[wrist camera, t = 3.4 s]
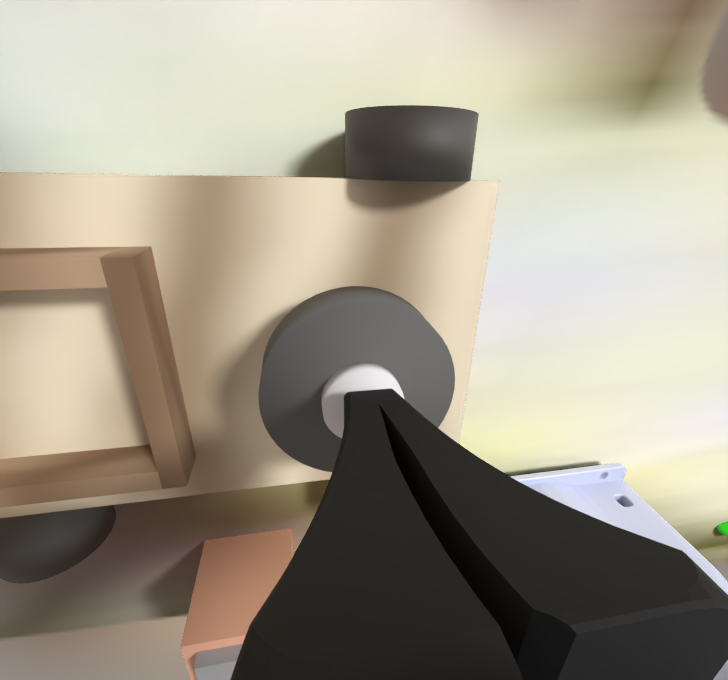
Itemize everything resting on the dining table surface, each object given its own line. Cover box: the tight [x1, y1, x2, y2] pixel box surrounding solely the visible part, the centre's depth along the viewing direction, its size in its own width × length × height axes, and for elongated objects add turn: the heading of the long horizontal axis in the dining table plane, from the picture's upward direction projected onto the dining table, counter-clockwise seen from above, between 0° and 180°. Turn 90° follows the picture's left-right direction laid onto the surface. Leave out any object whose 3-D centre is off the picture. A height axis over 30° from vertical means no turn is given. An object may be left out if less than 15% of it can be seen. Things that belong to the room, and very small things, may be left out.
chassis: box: [0, 106, 500, 583], centre depth 14 cm, size 20×16×4 cm
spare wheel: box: [258, 286, 455, 472], centre depth 12 cm, size 6×6×2 cm
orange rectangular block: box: [181, 528, 294, 680], centre depth 19 cm, size 4×4×6 cm
